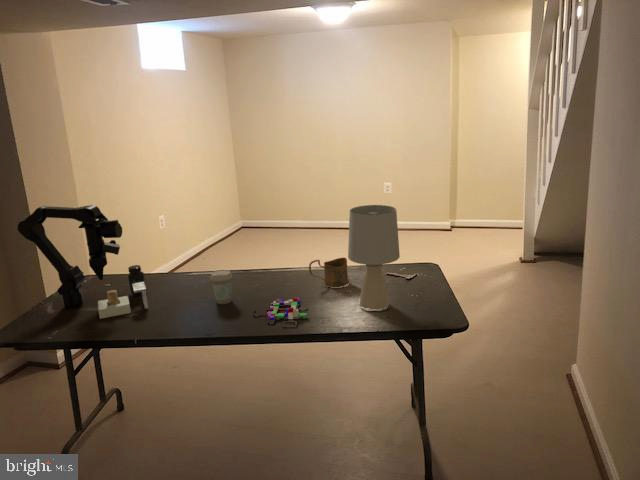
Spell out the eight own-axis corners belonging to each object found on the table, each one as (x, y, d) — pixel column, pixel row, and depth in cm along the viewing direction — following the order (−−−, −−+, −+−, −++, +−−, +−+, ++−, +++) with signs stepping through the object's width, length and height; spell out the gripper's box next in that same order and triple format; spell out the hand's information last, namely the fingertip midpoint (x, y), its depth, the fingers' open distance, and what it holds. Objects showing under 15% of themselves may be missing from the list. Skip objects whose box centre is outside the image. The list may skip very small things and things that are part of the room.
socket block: (99, 318, 191) (98, 310, 190) (99, 309, 200) (97, 301, 199) (130, 312, 195) (129, 304, 194) (129, 303, 204) (127, 295, 203)
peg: (110, 313, 195) (106, 294, 193) (109, 310, 199) (106, 291, 196) (120, 311, 197) (117, 292, 195) (119, 308, 200) (116, 289, 198)
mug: (305, 285, 216) (303, 258, 213) (342, 277, 223) (341, 251, 220) (316, 293, 206) (315, 265, 202) (354, 285, 213) (354, 258, 209)
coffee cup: (208, 303, 200) (205, 275, 197) (222, 296, 208) (219, 268, 204) (225, 307, 196) (222, 277, 193) (239, 299, 204) (236, 270, 201)
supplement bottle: (149, 290, 218) (145, 264, 214) (142, 296, 211) (138, 269, 208) (134, 290, 218) (130, 264, 215) (127, 296, 212) (122, 269, 209)
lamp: (398, 317, 180) (398, 215, 170) (346, 315, 184) (342, 215, 174) (401, 297, 197) (400, 204, 187) (353, 296, 201) (350, 204, 191)
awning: (137, 311, 197) (133, 290, 194) (135, 303, 205) (132, 283, 202) (148, 308, 198) (145, 288, 196) (146, 301, 206) (143, 281, 204)
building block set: (259, 302, 201) (258, 291, 200) (311, 301, 200) (310, 290, 199) (246, 329, 177) (245, 318, 176) (305, 329, 176) (304, 317, 175)
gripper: (118, 240, 192) (124, 279, 196) (115, 230, 208) (121, 266, 213) (85, 245, 188) (92, 285, 192) (85, 234, 204) (92, 271, 208)
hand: (101, 276), depth 201 cm, fingers open, 9 cm apart
